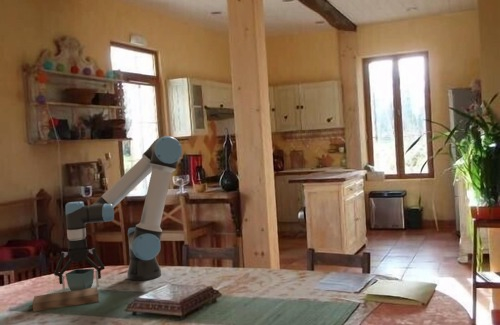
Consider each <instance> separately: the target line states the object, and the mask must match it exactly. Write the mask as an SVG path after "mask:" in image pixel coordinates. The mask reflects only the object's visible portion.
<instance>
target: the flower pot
mask: <svg viewBox="0 0 500 325" xmlns="http://www.w3.org/2000/svg"><path fill="white" fill-rule="evenodd" d="M94 273H95V268H76V269H73V270H71V271H68V272H67V273H65V274H64V276H65V277H66V278H65V279H66V283H67V286H68V288H69V291H74V290H81V289H88V288H93V287H92V286H93V284H94V277H95V276H94V275H95V274H94Z"/></svg>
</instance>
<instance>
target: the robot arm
mask: <svg viewBox="0 0 500 325" xmlns="http://www.w3.org/2000/svg"><path fill="white" fill-rule="evenodd" d="M182 153H183V148H182V144H181V143H180V141H179V140H178V139H177V138H175V137H173V136H171V135H170V136H169V135H164V136H161V137H158V138H156V139H155V140H154V141H153V142H152V143H151V145H150V146H148V149H146V150H145V152H143V153H142V155H141V156H142V157H141V158H140V159H138V161H136V163H135V164H133V166H131V168H130V169H128V170H127V171H126V172H125V173H124V174H123V175H122V176H121V177H119V179H118V180H117V181H116V182H115V183H114V184H113V185H112V186H111V187H110V188H109V189H108V190H106V191H105V192H104V193H103V194H102V195H101V196H100V197H99V198H98V199H97V200H96V201H94V202H93V203H92V204H91V205H85V202H84V201H81V200H80V201H70V202H67V203H66V204H65V220H66V222H65V223H66V233H67V235H66V236H67V240H68V241H67V248H68V250H67V251H61V253H60V258H59V260H58V263H57V265H56V268H55V270H54V273H53V275H54V277H55V276H57V277H58V280H59V284H60V285H62V292H66V285H65V274H64V273H65V272H66V270H67V269H68V268H69V267H70V265H71V264H72V263H73V262H75V263H76V262H82V261H84V260H85V261H86V262H88V264H90V265H91V266H92V267H93V269H94V270H95V280H96V281H95V282H96V287H97V288H100V284H99V282H100V281H99V280H100V279H102V275H101V274H102V273H101V271H103V270H105V269H106V268H105V265H104V264H103V262H102V260H101V259H100V257H99V255H98V254H97V252H96V248H94V247H92V248H91V249H90V248H88V243H87V242H88V241H87V240H88V239H87V238H86V237H87V230H86V229H87V228H86V224H95V223H107V222H113V221H114V220H115V211H114V208H116V206H118V205H119V203H120V202H121V201H123V199H125V198H126V197H127V195H129V194H130V193H131V192H132V191H133V190H134V189H135V188H137V186H139V184H140V183H141V182H143V181H144V180H145V179H146V178H147V177H148V176H149V175H150V178H149V181H148V182H149V184H148V186H147V191H146V195H145V200H144V204H143V208H142V213H141V217H140V218H141V219H140V222H139V223H137V224H135V227H129V228H128V230H127V237H128V240H127V241H128V249H129V251H128V252H129V265H128V268H127V275H126V276H127V279H128V280H129V281H145V280H146V281H147V280H151V279H155V278H158V277H161V276H162V270H161V267H160V265H159V262H158V260H157V256H158V255H159V253H160V252H161V248H162V247H161V245H162V244H161V238H162V234H163V229H162V228H161V224H162V223H161V222H162V219H163V215H164V214H163V213H164V210H165V205H166V201H167V196H168V191H169V187H170V182H171V177H172V174H173V172H174V171H176V170H177V167H178V163H179V160H180V159H181V157H182ZM88 254H91V255H93V257H94V259H95V260H96V262H97V263H98V265H99V266H98V265H97V264H96V263H95V262H94V261H93V260H92V259H91V258H89V256H88ZM67 256H68V257H69V259H68V261H67V262H66V264H64V266H63V267H62V268H61V266H62V264H63V262H64V259H65V258H67ZM60 268H61V270H60Z"/></svg>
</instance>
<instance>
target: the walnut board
mask: <svg viewBox="0 0 500 325" xmlns="http://www.w3.org/2000/svg"><path fill="white" fill-rule="evenodd" d="M97 302H100V296H99V290H98V287H97V286H96V287H91V288H88V289H81V290H74V291H71V290H68V291H65V292H63V291H61V292H55V293H47V294H41V295H34V296H33V301H32V311H33V312H39V311H40V312H41V311H44V310H51V309H59V308H66V307H72V306H77V305H78V306H79V305H83V304H84V305H85V304H86V305H87V304H93V303H97Z"/></svg>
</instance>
